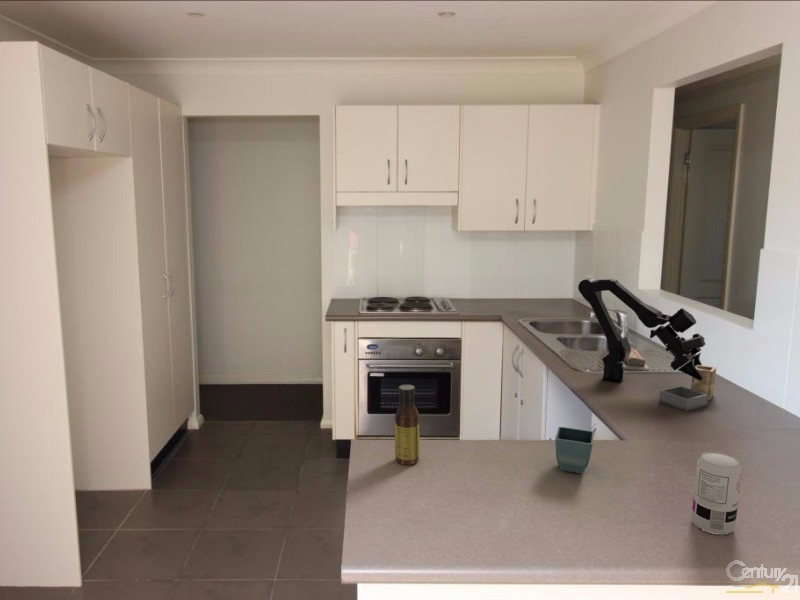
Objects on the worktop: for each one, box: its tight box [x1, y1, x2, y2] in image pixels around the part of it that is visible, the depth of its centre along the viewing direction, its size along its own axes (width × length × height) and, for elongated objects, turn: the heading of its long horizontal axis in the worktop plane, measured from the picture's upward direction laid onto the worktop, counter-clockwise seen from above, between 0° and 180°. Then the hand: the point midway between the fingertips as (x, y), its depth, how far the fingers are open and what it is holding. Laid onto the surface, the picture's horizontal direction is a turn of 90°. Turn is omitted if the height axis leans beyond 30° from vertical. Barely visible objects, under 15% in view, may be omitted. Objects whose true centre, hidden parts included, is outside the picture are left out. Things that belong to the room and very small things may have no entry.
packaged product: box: [622, 348, 650, 371], centre depth 253 cm, size 18×5×10 cm
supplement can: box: [691, 451, 743, 534], centre depth 130 cm, size 8×8×15 cm
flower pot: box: [554, 426, 595, 474], centre depth 157 cm, size 9×9×9 cm
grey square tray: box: [658, 385, 709, 412], centre depth 206 cm, size 10×10×4 cm
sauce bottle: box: [394, 384, 421, 466], centre depth 159 cm, size 6×6×20 cm
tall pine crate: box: [690, 364, 717, 401], centre depth 213 cm, size 6×6×10 cm
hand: (703, 377), depth 213 cm, fingers closed on tall pine crate, 6 cm apart
